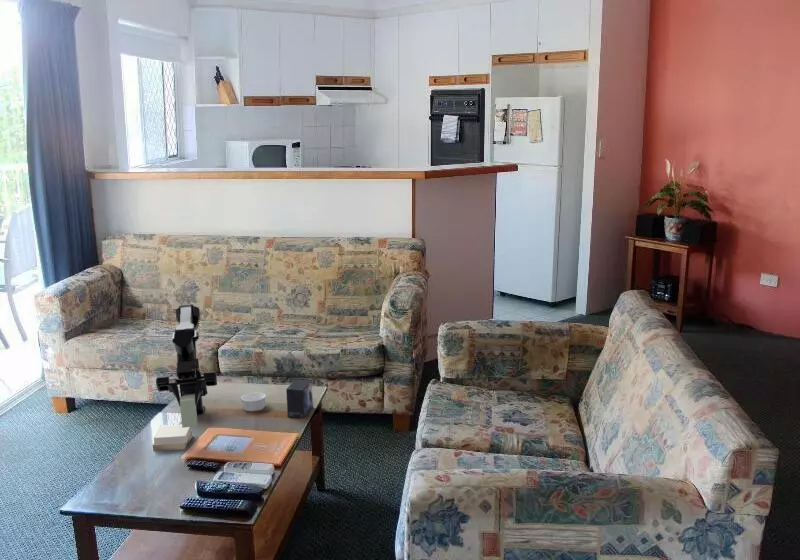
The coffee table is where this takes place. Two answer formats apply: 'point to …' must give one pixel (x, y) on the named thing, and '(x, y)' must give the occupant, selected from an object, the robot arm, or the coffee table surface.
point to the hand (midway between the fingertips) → (188, 405)
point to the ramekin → (253, 401)
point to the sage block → (188, 411)
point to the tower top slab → (171, 434)
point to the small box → (299, 398)
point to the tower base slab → (172, 445)
